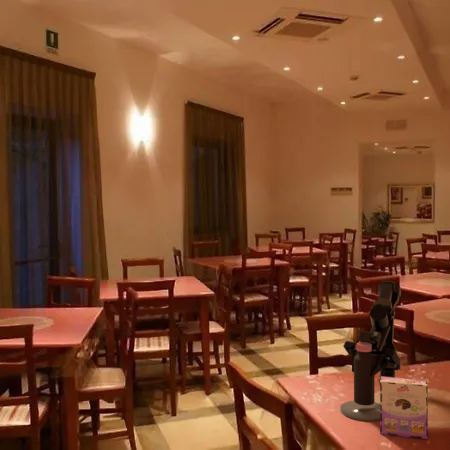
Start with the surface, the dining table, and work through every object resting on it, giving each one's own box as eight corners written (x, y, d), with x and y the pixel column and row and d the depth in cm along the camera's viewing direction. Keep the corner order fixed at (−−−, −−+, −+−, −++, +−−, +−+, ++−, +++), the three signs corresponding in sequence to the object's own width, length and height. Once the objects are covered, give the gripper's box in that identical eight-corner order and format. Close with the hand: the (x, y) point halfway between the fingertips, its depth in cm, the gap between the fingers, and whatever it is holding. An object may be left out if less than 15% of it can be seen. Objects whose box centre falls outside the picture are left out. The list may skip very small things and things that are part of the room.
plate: (339, 402, 190) (339, 399, 190) (385, 404, 188) (385, 401, 188) (341, 419, 174) (341, 416, 174) (392, 422, 172) (392, 419, 172)
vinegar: (363, 407, 177) (363, 347, 176) (349, 400, 183) (349, 342, 182) (378, 403, 180) (378, 344, 179) (364, 397, 186) (364, 340, 185)
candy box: (427, 432, 164) (427, 379, 164) (428, 440, 159) (428, 385, 158) (380, 426, 169) (380, 375, 168) (379, 434, 163) (379, 380, 163)
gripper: (345, 318, 190) (328, 355, 182) (395, 325, 177) (379, 366, 169) (357, 335, 196) (341, 372, 188) (406, 344, 183) (391, 384, 175)
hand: (362, 373), depth 180 cm, fingers closed on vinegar, 7 cm apart
